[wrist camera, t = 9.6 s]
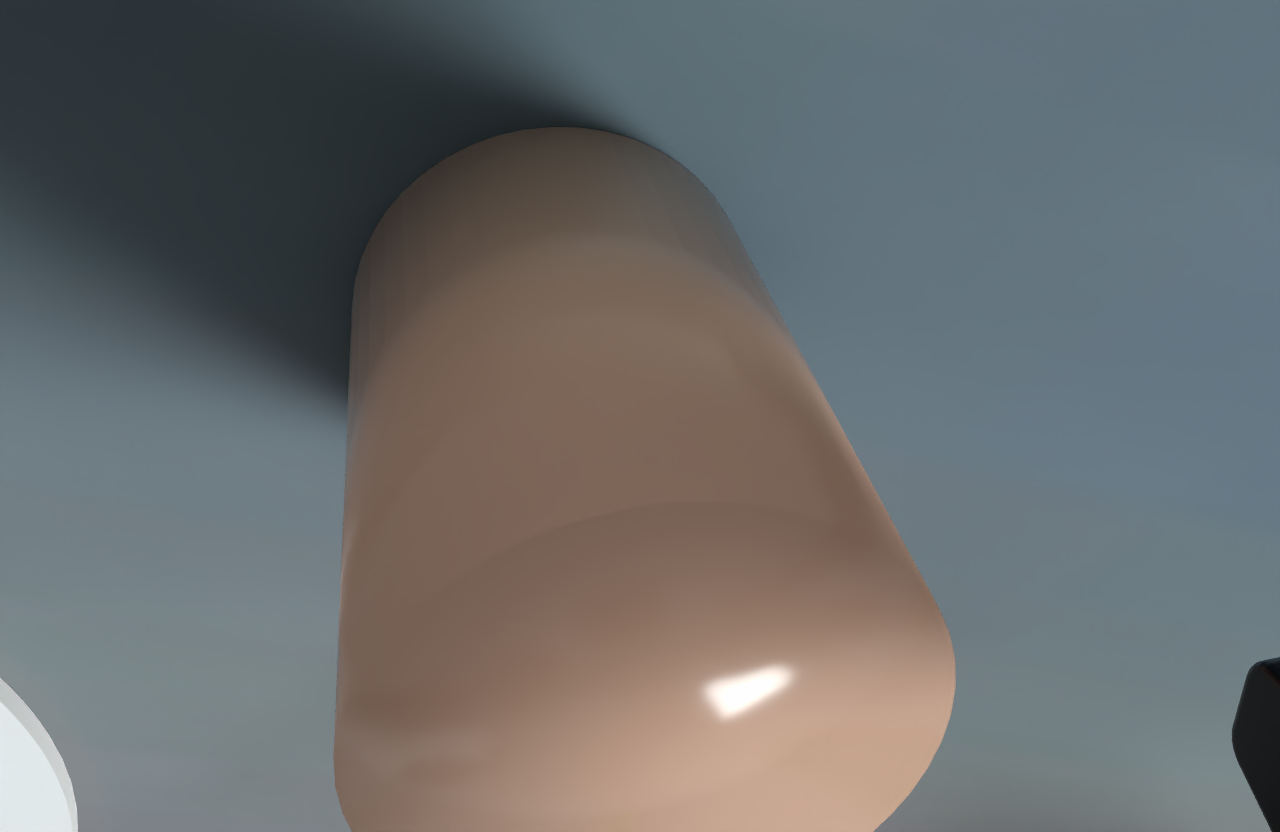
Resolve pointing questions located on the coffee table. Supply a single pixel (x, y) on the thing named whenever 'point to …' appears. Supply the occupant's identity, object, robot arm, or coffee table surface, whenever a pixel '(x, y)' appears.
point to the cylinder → (608, 524)
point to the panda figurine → (31, 773)
